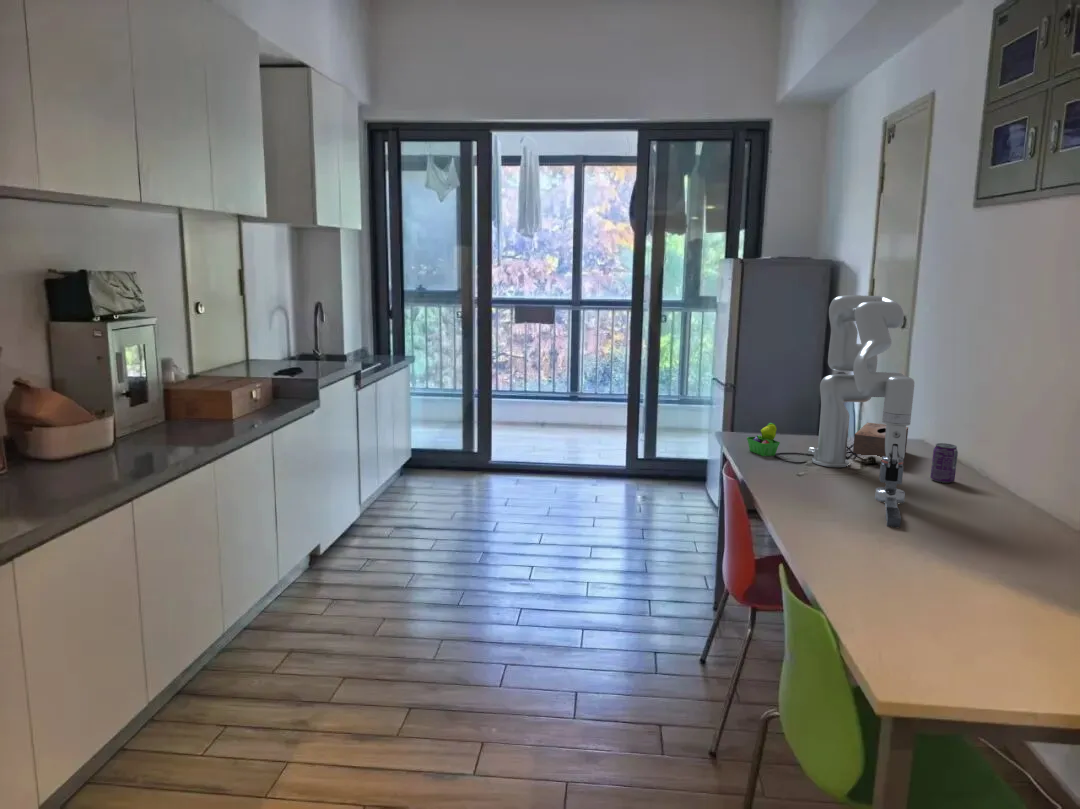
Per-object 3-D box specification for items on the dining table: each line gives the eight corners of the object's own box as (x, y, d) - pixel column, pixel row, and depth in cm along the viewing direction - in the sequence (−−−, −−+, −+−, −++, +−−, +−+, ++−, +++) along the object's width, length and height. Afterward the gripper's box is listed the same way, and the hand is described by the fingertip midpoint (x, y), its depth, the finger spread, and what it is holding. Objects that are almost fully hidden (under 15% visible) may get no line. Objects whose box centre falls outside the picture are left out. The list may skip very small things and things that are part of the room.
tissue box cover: (895, 467, 270) (898, 439, 268) (852, 461, 278) (854, 434, 276) (905, 453, 292) (908, 427, 290) (864, 447, 299) (867, 422, 297)
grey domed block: (901, 484, 226) (904, 461, 224) (880, 482, 228) (882, 459, 226) (900, 479, 231) (902, 456, 230) (879, 477, 233) (881, 454, 232)
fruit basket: (744, 450, 290) (746, 420, 288) (765, 448, 293) (767, 419, 291) (761, 457, 279) (764, 427, 277) (782, 456, 282) (785, 426, 280)
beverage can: (948, 478, 256) (953, 443, 254) (958, 484, 249) (962, 448, 247) (926, 477, 257) (930, 442, 255) (935, 483, 250) (939, 447, 248)
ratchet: (909, 529, 205) (912, 506, 204) (877, 525, 208) (879, 501, 207) (903, 498, 233) (905, 477, 232) (874, 495, 236) (876, 474, 234)
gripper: (913, 424, 217) (906, 486, 220) (908, 414, 233) (902, 472, 236) (884, 422, 219) (878, 483, 223) (881, 412, 235) (875, 469, 239)
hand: (890, 477), depth 229 cm, fingers closed on grey domed block, 5 cm apart
